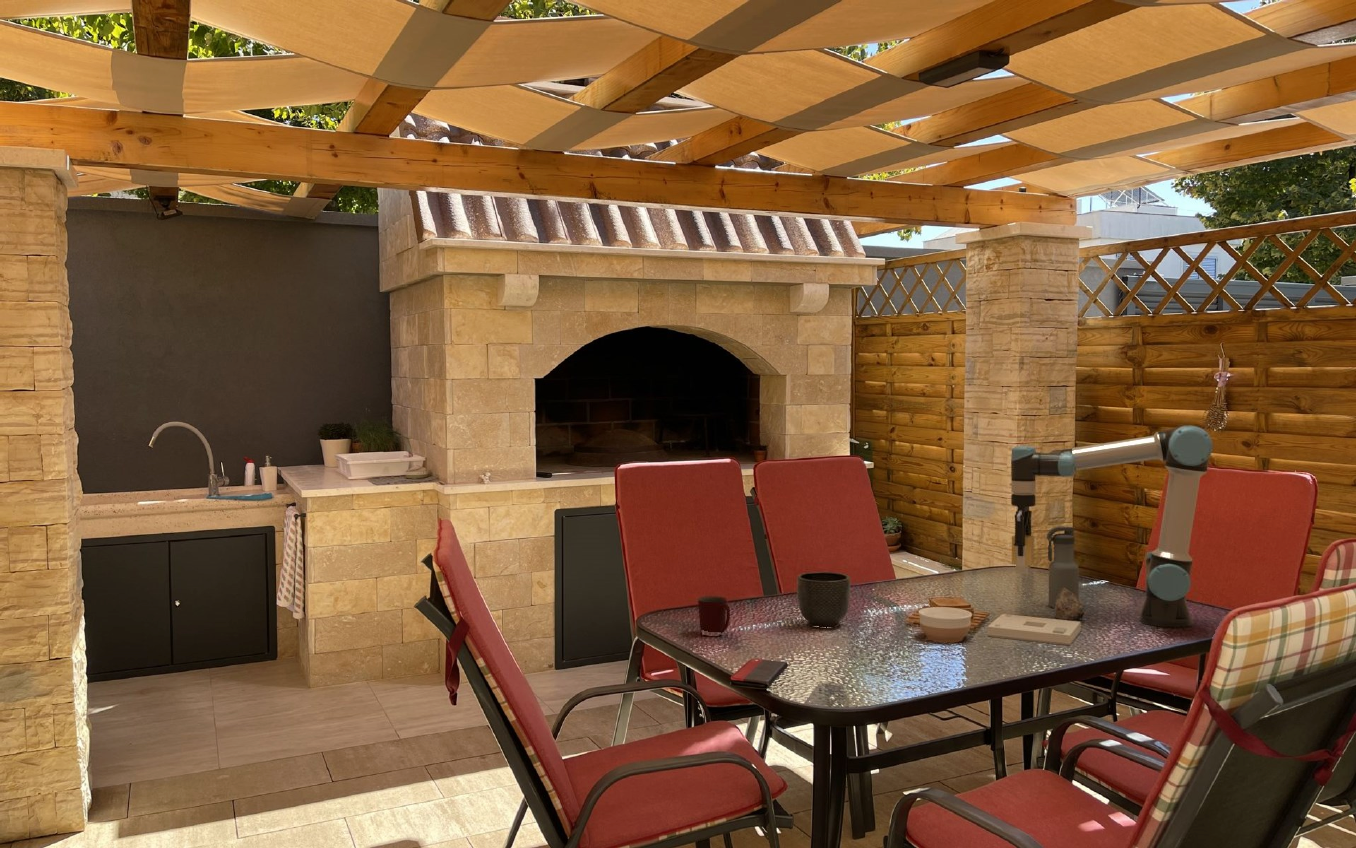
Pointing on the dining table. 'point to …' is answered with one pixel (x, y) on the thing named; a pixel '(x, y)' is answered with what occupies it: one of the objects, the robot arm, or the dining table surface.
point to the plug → (1029, 554)
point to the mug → (713, 614)
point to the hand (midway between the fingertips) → (1023, 564)
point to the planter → (823, 597)
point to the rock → (1068, 606)
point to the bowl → (945, 623)
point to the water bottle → (1062, 563)
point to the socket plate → (1035, 629)
